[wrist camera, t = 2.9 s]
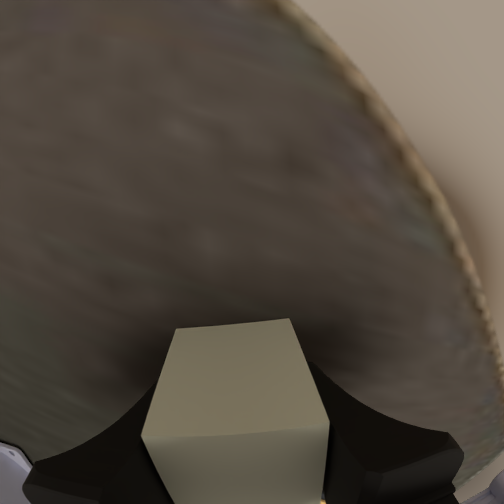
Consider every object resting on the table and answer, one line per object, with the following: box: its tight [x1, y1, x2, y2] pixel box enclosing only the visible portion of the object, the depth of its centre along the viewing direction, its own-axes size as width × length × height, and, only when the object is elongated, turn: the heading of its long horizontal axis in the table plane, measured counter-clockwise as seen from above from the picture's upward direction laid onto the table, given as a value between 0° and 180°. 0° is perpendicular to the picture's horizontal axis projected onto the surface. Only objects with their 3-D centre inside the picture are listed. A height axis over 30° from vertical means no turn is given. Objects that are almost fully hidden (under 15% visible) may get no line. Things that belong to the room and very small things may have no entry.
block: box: [141, 318, 330, 504], centre depth 10 cm, size 4×4×6 cm
